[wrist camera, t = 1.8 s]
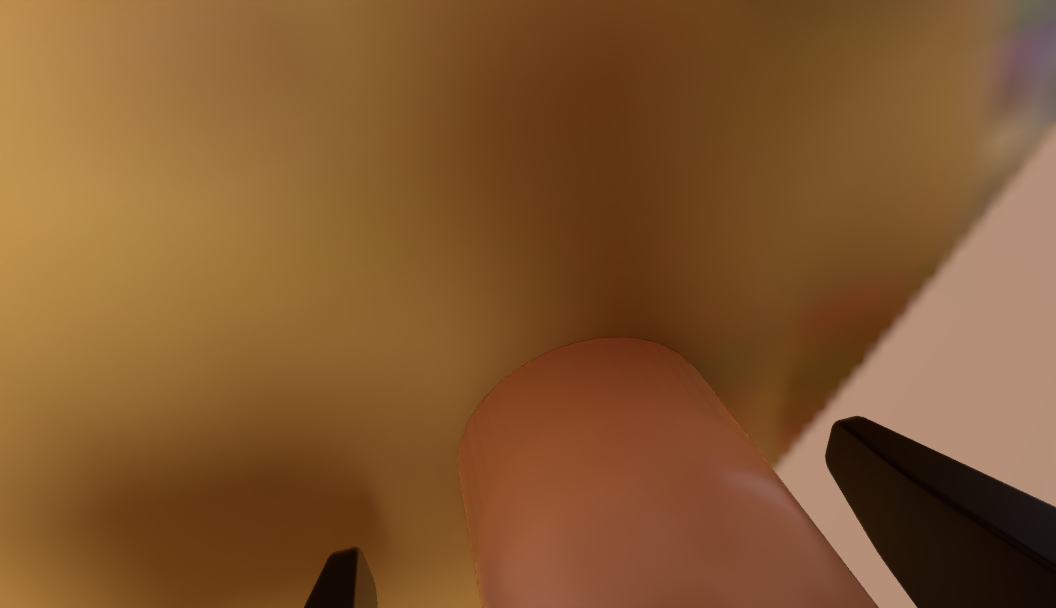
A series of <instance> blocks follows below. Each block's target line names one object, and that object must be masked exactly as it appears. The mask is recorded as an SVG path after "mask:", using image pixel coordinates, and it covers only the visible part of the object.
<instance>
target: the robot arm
mask: <svg viewBox="0 0 1056 608" xmlns="http://www.w3.org/2000/svg"><path fill="white" fill-rule="evenodd" d="M825 458H826V464H827V467H828V469H829V471H830V473H831V475H832V476H833V478H834V480H835V481H836V483H837V485H838V486H839V488H840V490H841V491H842V493H843V495H844V496H845V498H846V500H847V502H848V503H849V505H850V507H851V508H852V510H853V512H854V514H855V515H856V517H857V519H858V520H859V522H860V524H861V525H862V527H863V529H864V531H865V532H866V534H867V536H868V537H869V539H870V540H871V542H872V544H873V545H874V547H875V549H876V550H877V552H878V553H879V555H880V556H881V558H882V559H883V561H884V562H885V564H886V565H887V566H888V568H889V569H890V571H891V572H892V573H893V575H894V576H895V577H896V579H897V580H898V582H899V583H900V584H901V585H902V587H903V588H904V590H905V591H906V593H907V594H908V595H909V597H910V598H911V600H912V601H913V602H914V603H915V605H916V606H917V608H1056V507H1055V506H1052V505H1050V504H1048V503H1046V502H1044V501H1042V500H1040V499H1038V498H1035V497H1033V496H1031V495H1029V494H1027V493H1024V492H1023V491H1020V490H1018V489H1016V488H1014V487H1012V486H1010V485H1008V484H1005V483H1003V482H1001V481H999V480H997V479H995V478H993V477H990V476H988V475H986V474H984V473H982V472H980V471H978V470H975V469H973V468H971V467H969V466H967V465H965V464H963V463H960V462H958V461H956V460H954V459H952V458H950V457H948V456H945V455H943V454H941V453H939V452H937V451H935V450H932V449H930V448H928V447H926V446H924V445H922V444H920V443H918V442H916V441H913V440H911V439H909V438H907V437H905V436H903V435H901V434H899V433H896V432H894V431H892V430H890V429H888V428H886V427H883V426H881V425H879V424H877V423H875V422H873V421H871V420H868V419H866V418H864V417H860V416H854V417H850V418H846V419H842V420H838V421H836V422H835V423H834V424H833V426H832V429H831V433H830V437H829V441H828V445H827V450H826V454H825ZM304 608H378V606H377V595H376V587H375V582H374V579H373V576H372V574H371V571H370V569H369V567H368V564H367V562H366V560H365V557H364V555H363V552H362V551H361V549H360V548H359V547H352V548H348V549H344V550H340V551H336V552H334V553H332V554H331V555H330V556H329V558H328V559H327V561H326V563H325V565H324V567H323V569H322V571H321V573H320V576H319V578H318V580H317V582H316V584H315V586H314V588H313V590H312V592H311V594H310V596H309V598H308V600H307V602H306V604H305V606H304Z"/></svg>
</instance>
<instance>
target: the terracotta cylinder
mask: <svg viewBox="0 0 1056 608" xmlns="http://www.w3.org/2000/svg"><path fill="white" fill-rule="evenodd" d="M458 471H459V477H460V483H461V489H462V495H463V501H464V507H465V513H466V519H467V525H468V531H469V537H470V543H471V548H472V554H473V560H474V566H475V572H476V578H477V584H478V590H479V596H480V602H481V608H878V606H877V605H876V604H875V603H874V601H873V600H872V598H871V597H870V596H869V595H868V593H867V592H866V591H865V589H864V588H863V587H862V586H861V584H860V583H859V581H858V580H857V579H856V577H855V576H854V575H853V574H852V572H851V571H850V570H849V568H848V567H847V566H846V564H845V563H844V562H843V560H842V559H841V558H840V557H839V555H838V554H837V553H836V551H835V550H834V549H833V548H832V546H831V545H830V543H829V542H828V541H827V540H826V538H825V537H824V536H823V534H822V533H821V532H820V530H819V529H818V528H817V526H816V525H815V524H814V522H813V521H812V520H811V519H810V517H809V516H808V515H807V513H806V512H805V511H804V509H803V508H802V507H801V506H800V504H799V503H798V502H797V500H796V499H795V498H794V496H793V495H792V494H791V492H790V491H789V490H788V488H787V487H786V486H785V484H784V483H783V482H782V481H781V479H780V478H779V477H778V475H777V474H776V473H775V471H774V470H773V469H772V467H771V466H770V465H769V464H768V462H767V461H766V460H765V458H764V457H763V456H762V454H761V453H760V452H759V450H758V449H757V448H756V446H755V445H754V444H753V443H752V441H751V440H750V439H749V437H748V436H747V435H746V433H745V432H744V431H743V429H742V428H741V427H740V426H739V424H738V423H737V422H736V420H735V419H734V418H733V416H732V415H731V414H730V412H729V411H728V410H727V409H726V407H725V406H724V405H723V403H722V402H721V401H720V399H719V398H718V397H717V395H716V394H715V393H714V391H713V390H712V389H711V388H710V386H709V385H708V384H707V382H706V381H705V380H704V378H703V377H702V376H701V374H700V373H699V372H698V371H697V369H696V368H695V367H694V366H693V365H692V364H691V363H690V362H689V361H688V360H687V359H686V358H684V357H683V356H682V355H680V354H679V353H678V352H676V351H674V350H672V349H670V348H668V347H666V346H664V345H661V344H658V343H655V342H652V341H647V340H642V339H637V338H624V337H612V338H598V339H592V340H586V341H581V342H577V343H574V344H570V345H566V346H563V347H560V348H558V349H555V350H553V351H550V352H548V353H545V354H543V355H541V356H539V357H537V358H535V359H533V360H532V361H530V362H528V363H526V364H525V365H523V366H522V367H520V368H519V369H517V370H515V371H514V372H512V373H511V374H510V375H509V376H507V377H506V378H505V379H504V380H503V381H501V382H500V383H499V384H498V385H497V386H496V387H495V388H494V389H493V390H492V391H491V392H490V393H489V394H488V395H487V396H486V397H485V398H484V399H483V401H482V402H481V403H480V405H479V406H478V407H477V409H476V410H475V411H474V413H473V415H472V417H471V418H470V420H469V422H468V424H467V425H466V428H465V431H464V433H463V436H462V438H461V442H460V447H459V452H458Z"/></svg>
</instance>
